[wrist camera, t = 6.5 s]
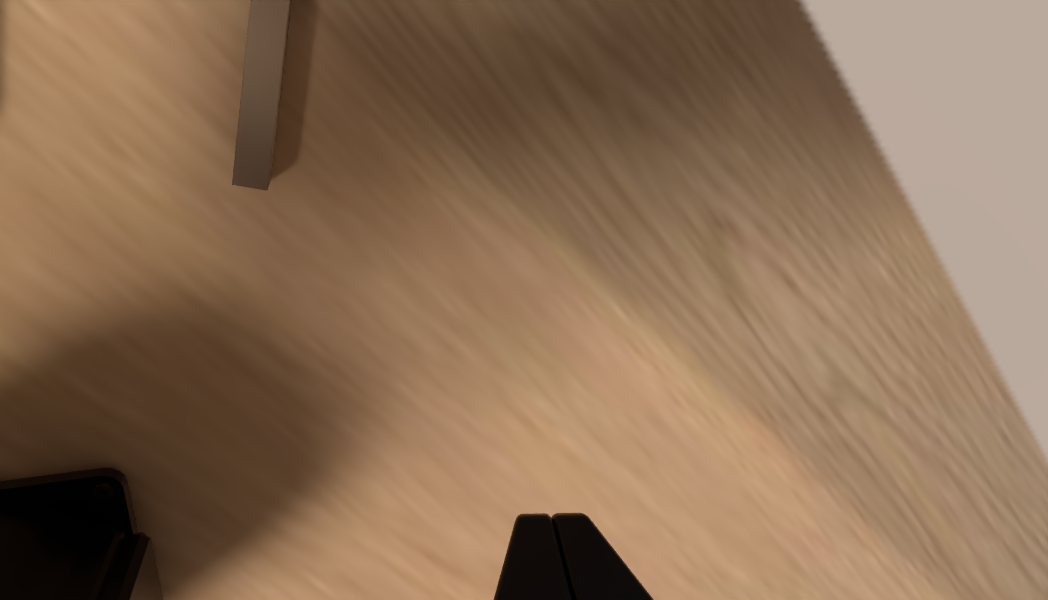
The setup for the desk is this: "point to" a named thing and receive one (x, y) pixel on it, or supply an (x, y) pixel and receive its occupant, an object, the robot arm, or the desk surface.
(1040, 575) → the desk surface
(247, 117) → the guide track
